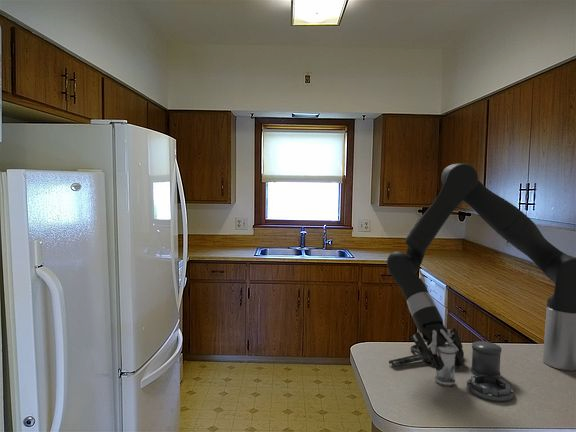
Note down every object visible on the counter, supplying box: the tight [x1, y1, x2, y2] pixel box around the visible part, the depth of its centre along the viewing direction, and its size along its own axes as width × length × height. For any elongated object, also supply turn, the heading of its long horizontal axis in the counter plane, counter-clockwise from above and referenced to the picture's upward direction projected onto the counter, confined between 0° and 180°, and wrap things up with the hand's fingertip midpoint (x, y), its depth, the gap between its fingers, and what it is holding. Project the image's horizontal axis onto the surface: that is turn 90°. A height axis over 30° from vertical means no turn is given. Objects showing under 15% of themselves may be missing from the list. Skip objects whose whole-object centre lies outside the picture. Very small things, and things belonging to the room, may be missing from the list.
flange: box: [466, 374, 514, 403], centre depth 108 cm, size 11×11×2 cm
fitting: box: [434, 342, 457, 387], centre depth 112 cm, size 5×5×10 cm
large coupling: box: [470, 340, 502, 378], centre depth 118 cm, size 8×8×8 cm
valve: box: [388, 344, 464, 368], centre depth 128 cm, size 6×26×15 cm
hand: (450, 367), depth 110 cm, fingers open, 6 cm apart
